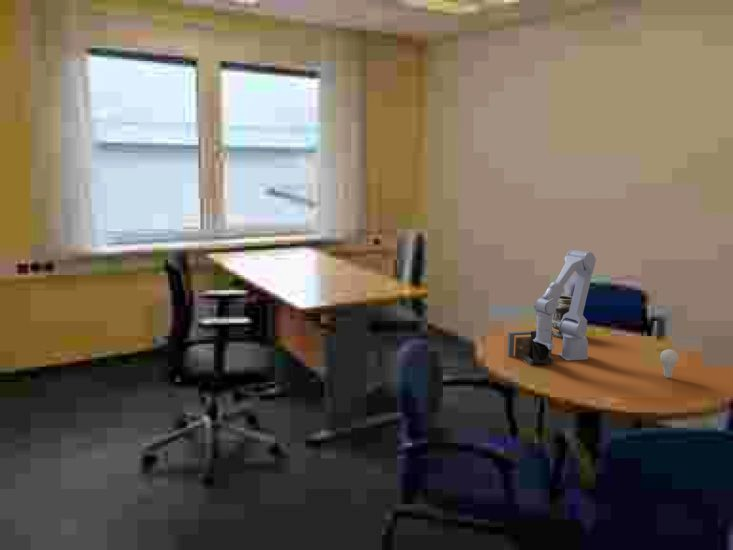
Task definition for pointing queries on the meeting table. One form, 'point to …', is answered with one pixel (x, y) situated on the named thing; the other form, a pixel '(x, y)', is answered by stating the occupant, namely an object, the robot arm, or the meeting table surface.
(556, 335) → the apothecary jar
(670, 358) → the lightbulb
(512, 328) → the meeting table surface
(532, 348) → the phone stand
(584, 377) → the meeting table surface
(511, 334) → the grey picture frame
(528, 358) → the keeper
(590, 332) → the meeting table surface
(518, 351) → the door
